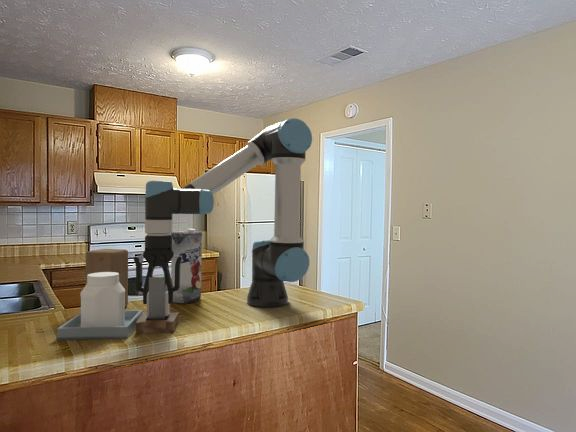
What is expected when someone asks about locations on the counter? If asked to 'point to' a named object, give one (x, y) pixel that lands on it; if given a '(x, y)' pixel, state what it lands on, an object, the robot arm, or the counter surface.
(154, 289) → the grey block
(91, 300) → the jar
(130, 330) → the tray
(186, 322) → the counter surface
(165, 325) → the hollow square tube
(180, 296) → the juice carton
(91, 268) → the wooden block
